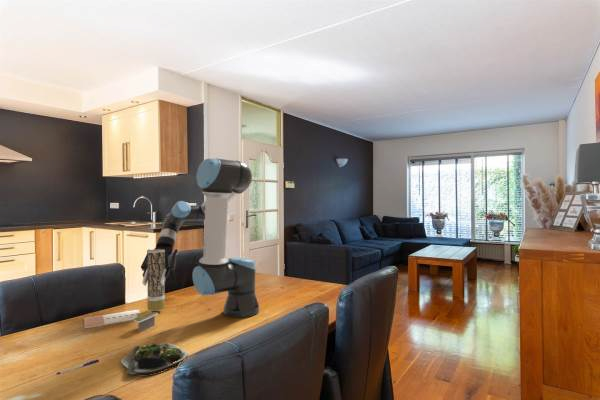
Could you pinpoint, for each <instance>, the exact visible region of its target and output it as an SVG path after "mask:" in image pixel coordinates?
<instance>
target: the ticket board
mask: <svg viewBox="0 0 600 400" xmlns="http://www.w3.org/2000/svg"><path fill="white" fill-rule="evenodd" d="M140 313H141V311H140V309H133V310H127V311H121V312H114V313H113V312H112V313H108V314H100V315H99V314H98V315H93V316H87V317H83V324H84V325H83V326H84V329H89V328H90V329H91V328H96V327H101V326H108V325H113V324H118V323H119V324H120V323H124V322H130V321H134V319H135V318H137V314H140Z"/></svg>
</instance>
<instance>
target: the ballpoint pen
mask: <svg viewBox="0 0 600 400" xmlns="http://www.w3.org/2000/svg"><path fill="white" fill-rule="evenodd" d="M99 361H100V360H99V359H93V360H89V361H87V362H86V363H83V364H81V365H77V366H74V367H70V368H69V369H65V370H61V371H59V372H57V373H56V374H58V375H61V374H65V373H68V372H71V371H73V369H74V370H76V369H77V370H78V369H80V368H83V367H86V366H89V365H93V364H96V363H98V362H99ZM70 370H71V371H70ZM67 371H68V372H67ZM64 372H65V373H64Z"/></svg>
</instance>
